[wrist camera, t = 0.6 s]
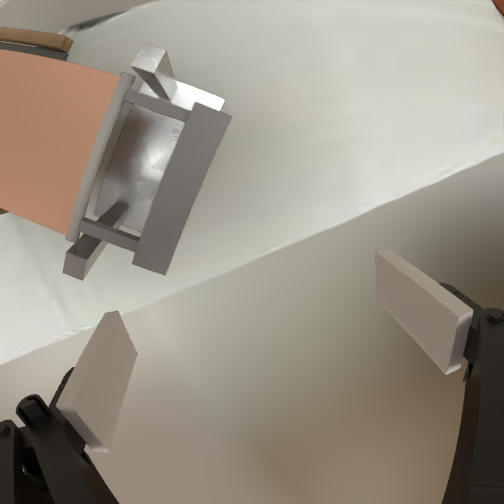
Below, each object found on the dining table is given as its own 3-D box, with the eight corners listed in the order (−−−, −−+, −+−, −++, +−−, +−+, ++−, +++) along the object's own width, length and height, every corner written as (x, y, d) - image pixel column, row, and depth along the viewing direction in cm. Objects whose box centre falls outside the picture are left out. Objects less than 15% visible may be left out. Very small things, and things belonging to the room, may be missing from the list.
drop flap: (227, 116, 21) (234, 112, 17) (167, 256, 24) (163, 279, 20) (17, 52, 15) (-8, 43, 11) (-23, 183, 18) (-49, 193, 14)
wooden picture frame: (-5, 30, 20) (-14, 26, 17) (73, 41, 24) (65, 35, 22) (-41, 132, 23) (-52, 133, 21) (28, 156, 28) (19, 158, 26)
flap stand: (224, 100, 31) (251, 71, 16) (165, 237, 35) (149, 313, 20) (150, 73, 28) (116, 24, 13) (96, 211, 32) (35, 270, 17)
